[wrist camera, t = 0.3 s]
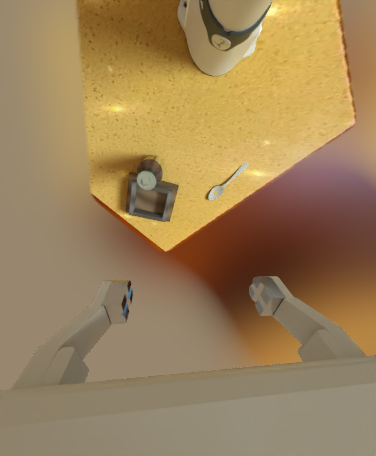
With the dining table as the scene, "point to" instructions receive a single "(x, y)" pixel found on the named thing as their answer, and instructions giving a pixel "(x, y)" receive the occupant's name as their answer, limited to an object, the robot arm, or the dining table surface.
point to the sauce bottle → (149, 172)
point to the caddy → (151, 200)
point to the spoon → (221, 188)
